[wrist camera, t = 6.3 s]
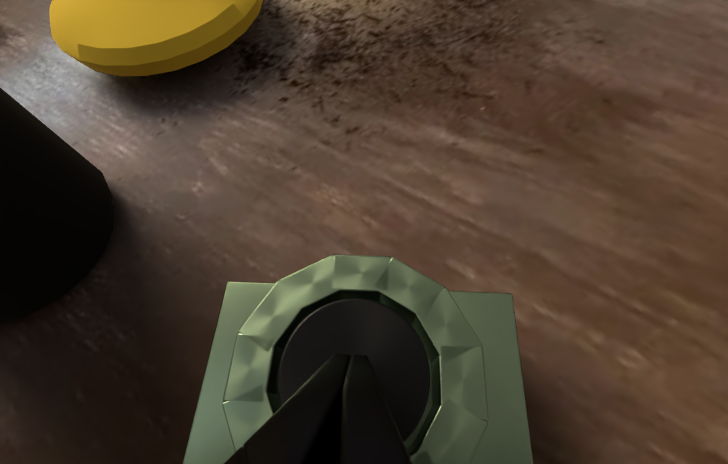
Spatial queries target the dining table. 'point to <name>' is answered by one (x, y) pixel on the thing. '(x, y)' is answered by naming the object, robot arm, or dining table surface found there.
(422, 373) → the button
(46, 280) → the coffee jar
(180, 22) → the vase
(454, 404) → the push button box
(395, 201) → the dining table surface
